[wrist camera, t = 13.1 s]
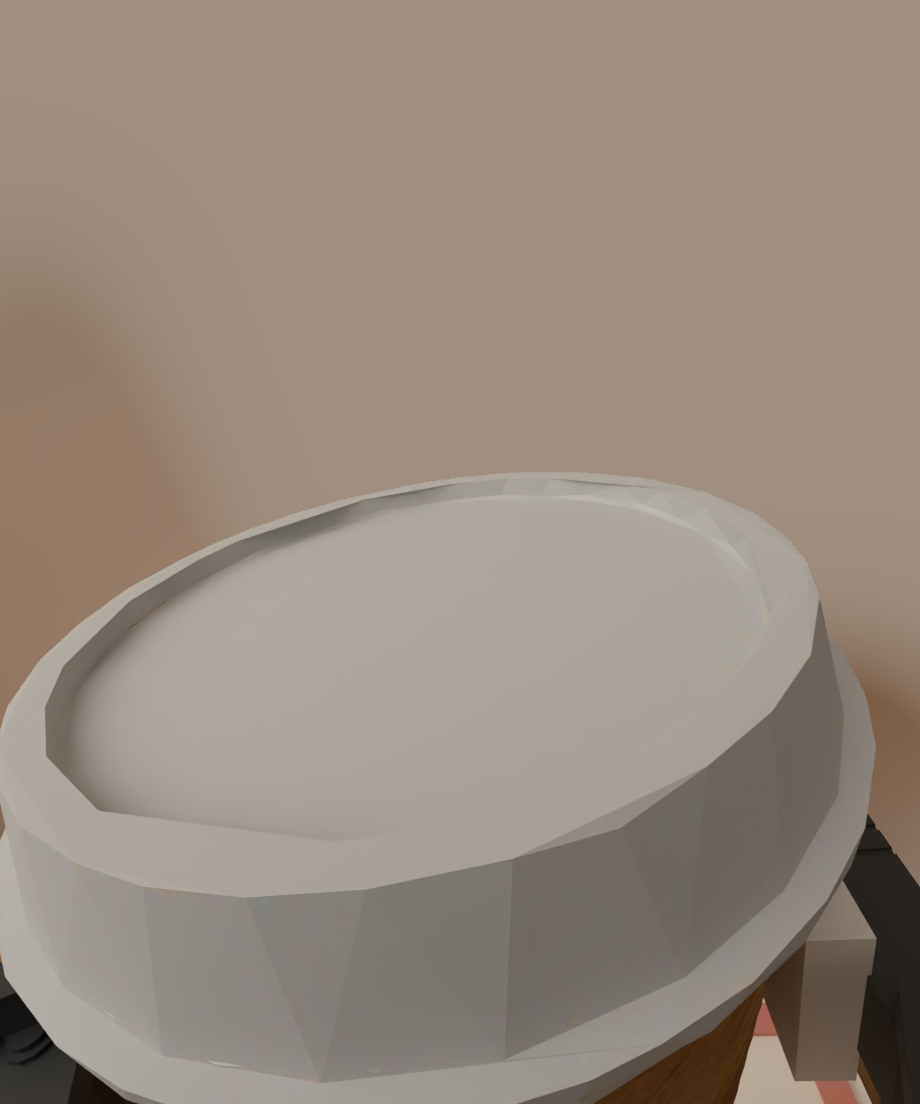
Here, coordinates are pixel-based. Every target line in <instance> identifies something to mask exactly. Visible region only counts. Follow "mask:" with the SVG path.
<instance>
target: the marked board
mask: <svg viewBox="0 0 920 1104" xmlns="http://www.w3.org/2000/svg"><path fill="white" fill-rule="evenodd" d="M734 1104H872V1103H871V1101H870V1098H869V1096H868V1094H867V1092H866V1090H865V1088H864V1085H863V1083H862V1081H861V1079H860V1077H859V1075H858V1072H857V1078H856V1081H794V1078H793V1075H792V1073H791V1070H790V1067H789V1065H788V1062H787V1059H786V1057H785V1054H784V1051H783V1048H782V1046H781V1043H780V1040H779V1038H778V1035H777V1032H776V1030H775V1027H774V1024H773V1022H772V1019H771V1016H770V1014H769V1011H768V1008H767V1006H766V1003H765V1000H764V998H763V1001H762V1006H761V1009H760V1011H759V1014H758V1017H757V1021H756V1025H755V1029H754V1034H753V1038H752V1041H751V1044H750V1047H749V1050H748V1054H747V1058H746V1062H745V1067H744V1070H743V1072H742V1075H741V1078H740V1083H739V1087H738V1092H737V1095H736V1098H735V1101H734Z"/></svg>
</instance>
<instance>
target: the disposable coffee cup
mask: <svg viewBox="0 0 920 1104" xmlns="http://www.w3.org/2000/svg"><path fill="white" fill-rule="evenodd" d="M875 751H876V744H875V739H874V735H873V729H872V724H871V719H870V715H869V710H868V704H867V699H866V695H865V693H864V692H863V689H862V688H861V686H860V684H859V682H858V680H857V678H856V676H855V674H854V672H853V670H852V668H851V666H850V664H849V662H848V660H847V658H846V656H845V654H844V652H843V650H842V649H841V648H840V647H839V646H838V645H837V643H836V642H835V641H834V640H833V639H832V638H831V637H830V636H829V635H828V633H827V631H826V626H825V621H824V616H823V612H822V607H821V602H820V598H819V594H818V592H817V589H816V586H815V583H814V581H813V578H812V575H811V573H810V570H809V567H808V565H807V562H806V561H805V559H804V558H803V557H802V555H801V554H800V553H799V552H798V551H797V549H796V548H795V547H794V546H793V544H792V543H791V542H790V541H789V540H788V539H787V538H786V537H785V536H784V535H782V534H781V533H780V532H778V531H777V530H776V529H774V528H773V527H772V526H771V525H769V524H768V523H767V522H765V521H764V520H763V519H761V518H760V517H759V516H757V515H756V514H754V513H752V512H750V511H748V510H745V509H743V508H741V507H738V506H736V505H734V504H731V503H729V502H727V501H724V500H722V499H720V498H718V497H716V496H713V495H711V494H709V493H706V492H703V491H699V490H694V489H690V488H686V487H681V486H677V485H673V484H668V483H664V482H660V481H656V480H651V479H646V478H637V477H627V476H615V475H605V474H594V473H584V472H537V473H536V472H532V473H531V472H530V473H529V472H528V473H527V472H525V473H504V474H492V475H481V476H470V477H459V478H453V479H446V480H440V481H432V482H426V483H419V484H414V485H409V486H405V487H400V488H395V489H390V490H386V491H382V492H376V493H372V494H367V495H363V496H358V497H353V498H348V499H344V500H340V501H337V502H333V503H330V504H326V505H323V506H320V507H316V508H313V509H309V510H306V511H302V512H299V513H296V514H292V515H290V516H287V517H284V518H281V519H278V520H275V521H272V522H269V523H266V524H264V525H261V526H258V527H255V528H252V529H249V530H247V531H244V532H242V533H239V534H237V535H235V536H232V537H230V538H227V539H225V540H223V541H220V542H217V543H215V544H212V545H210V546H208V547H206V548H204V549H202V550H201V551H198V552H196V553H194V554H192V555H190V556H188V557H186V558H184V559H182V560H180V561H178V562H176V563H174V564H172V565H170V566H169V567H167V568H165V569H163V570H161V571H159V572H157V573H156V574H154V575H152V576H150V577H148V578H146V579H144V580H143V581H141V582H139V583H137V584H135V585H134V586H132V587H130V588H128V589H127V590H125V591H124V592H122V593H121V594H120V595H118V596H117V597H116V598H114V599H113V600H111V601H110V602H109V603H107V604H106V605H105V606H103V607H102V608H101V609H99V610H98V611H96V612H95V613H94V614H92V615H91V616H90V617H88V618H87V619H85V620H84V621H83V622H81V623H80V624H79V625H77V626H76V627H75V628H74V629H73V630H72V631H71V632H70V633H69V634H67V636H65V637H64V638H63V639H62V640H61V641H60V642H59V643H58V644H57V645H56V646H55V647H54V648H52V649H51V650H50V651H49V652H48V653H47V654H46V655H45V656H44V657H43V658H42V659H41V660H40V661H39V662H38V663H37V665H36V667H35V668H34V669H33V671H32V672H31V674H30V675H29V677H28V678H27V679H26V681H25V682H24V684H23V685H22V686H21V688H20V689H19V691H18V692H17V694H16V695H15V697H14V698H13V699H12V701H11V702H10V704H9V705H8V707H7V710H6V713H5V716H4V719H3V723H2V726H1V729H0V804H1V808H2V813H3V817H4V822H5V826H6V828H5V830H4V833H3V835H2V837H1V840H0V954H1V959H2V964H3V969H4V974H5V977H6V979H7V980H8V981H9V983H10V984H11V986H12V987H13V988H14V990H15V991H16V992H17V994H18V995H19V996H20V998H21V999H22V1000H23V1002H24V1003H25V1004H26V1006H27V1007H28V1008H29V1010H30V1011H31V1012H32V1014H33V1015H34V1017H35V1018H36V1019H37V1021H38V1022H39V1023H40V1025H41V1026H42V1027H43V1029H44V1030H45V1031H46V1033H47V1034H48V1035H49V1037H50V1038H51V1039H52V1041H53V1042H54V1044H55V1045H56V1046H57V1047H58V1048H59V1049H61V1050H62V1051H63V1052H65V1053H66V1054H67V1055H69V1056H70V1057H71V1058H72V1059H74V1060H75V1061H76V1062H78V1063H79V1064H80V1065H82V1066H83V1067H84V1068H85V1069H87V1070H88V1071H89V1072H91V1073H92V1074H93V1075H95V1076H96V1077H97V1078H98V1079H100V1080H101V1081H102V1082H104V1083H105V1084H106V1085H108V1086H109V1087H110V1088H111V1089H113V1090H114V1091H115V1092H117V1093H118V1094H119V1095H121V1096H122V1097H123V1098H124V1099H126V1100H129V1101H132V1102H135V1103H138V1104H734V1101H735V1098H736V1095H737V1092H738V1087H739V1083H740V1078H741V1075H742V1072H743V1070H744V1067H745V1062H746V1058H747V1054H748V1050H749V1047H750V1044H751V1041H752V1038H753V1034H754V1029H755V1025H756V1021H757V1017H758V1014H759V1011H760V1009H761V1006H762V1001H763V997H764V992H765V988H766V983H767V979H768V977H769V976H770V975H771V974H773V973H774V972H775V971H776V970H777V969H778V968H779V967H780V966H781V965H782V964H783V963H784V962H785V961H786V960H787V959H788V958H789V957H790V956H791V955H793V954H794V953H795V952H796V951H797V950H798V949H799V948H800V947H801V946H802V945H803V944H804V943H805V941H806V940H807V938H808V937H809V935H810V933H811V932H812V930H813V928H814V927H815V925H816V923H817V922H818V920H819V918H820V917H821V915H822V913H823V912H824V910H825V909H826V907H827V905H828V904H829V902H830V900H831V899H832V897H833V895H834V894H835V892H836V890H837V889H838V887H839V885H840V884H841V882H842V880H843V879H844V877H845V876H846V874H847V872H848V871H849V869H850V867H851V865H852V862H853V859H854V857H855V854H856V851H857V849H858V846H859V843H860V840H861V838H862V835H863V832H864V830H865V826H866V818H867V811H868V803H869V796H870V789H871V781H872V774H873V766H874V759H875Z"/></svg>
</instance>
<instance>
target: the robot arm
mask: <svg viewBox="0 0 920 1104" xmlns="http://www.w3.org/2000/svg"><path fill="white" fill-rule="evenodd" d="M763 998H764V1000H765V1003H766V1006H767V1008H768V1011H769V1014H770V1016H771V1019H772V1022H773V1024H774V1027H775V1030H776V1032H777V1035H778V1038H779V1040H780V1043H781V1046H782V1048H783V1051H784V1054H785V1057H786V1059H787V1062H788V1065H789V1067H790V1070H791V1073H792V1075H793V1078H794V1081H856V1078H857V1071H858V1064H859V1057H860V1056H861V1058H862V1061H863V1063H864V1065H865V1067H866V1069H867V1071H868V1073H869V1075H870V1078H871V1080H872V1082H873V1084H874V1086H875V1088H876V1090H877V1092H878V1094H879V1101H878V1104H920V887H919V885H918V884H917V883H916V881H915V880H914V878H913V877H912V876H911V874H910V873H909V871H908V870H907V869H906V867H905V866H904V864H903V863H902V861H901V860H900V859H899V857H898V856H897V854H894V853H893V852H892V848H891V846H890V845H889V844H888V842H887V840H886V839H885V838H884V836H883V835H882V833H881V832H880V831H879V830H876V827H875V824H874V822H873V821H872V819H871V818H870V817H869V815H868V814H867V818H866V826H865V830H864V832H863V835H862V838H861V840H860V843H859V846H858V849H857V851H856V854H855V857H854V859H853V862H852V865H851V867H850V869H849V871H848V872H847V874H846V876H845V877H844V879H843V880H842V882H841V884H840V885H839V887H838V889H837V890H836V892H835V894H834V895H833V897H832V899H831V900H830V902H829V904H828V905H827V907H826V909H825V910H824V912H823V913H822V915H821V917H820V918H819V920H818V922H817V923H816V925H815V927H814V928H813V930H812V932H811V933H810V935H809V937H808V938H807V940H806V941H805V943H804V944H803V945H802V946H801V947H800V948H799V949H798V950H797V951H796V952H795V953H794V954H793V955H791V956H790V957H789V958H788V959H787V960H786V961H785V962H784V963H783V964H782V965H781V966H780V967H779V968H778V969H777V970H776V971H775V972H774V973H773V974H771V975H770V976H769V977H768V979H767V983H766V988H765V992H764V997H763ZM0 1104H138V1103H135V1102H132V1101H129V1100H126V1099H124V1098H123V1097H122V1096H121V1095H119V1094H118V1093H117V1092H115V1091H114V1090H113V1089H111V1088H110V1087H109V1086H108V1085H106V1084H105V1083H104V1082H102V1081H101V1080H100V1079H98V1078H97V1077H96V1076H95V1075H93V1074H92V1073H91V1072H89V1071H88V1070H87V1069H85V1068H84V1067H83V1066H82V1065H80V1064H79V1063H78V1062H76V1061H75V1060H74V1059H72V1058H71V1057H70V1056H69V1055H67V1054H66V1053H65V1052H63V1051H62V1050H61V1049H59V1048H58V1047H57V1046H56V1045H55V1044H54V1042H53V1041H52V1039H51V1038H50V1037H49V1035H48V1034H47V1033H46V1031H45V1030H44V1029H43V1027H42V1026H41V1025H40V1023H39V1022H38V1021H37V1019H36V1018H35V1017H34V1015H33V1014H32V1012H31V1011H30V1010H29V1008H28V1007H27V1006H26V1004H25V1003H24V1002H23V1000H22V999H21V998H20V996H19V995H18V994H17V992H16V991H15V990H14V988H13V987H12V986H11V984H10V983H9V981H8V980H7V979H6V977H5V974H4V969H3V964H2V962H1V963H0Z"/></svg>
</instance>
